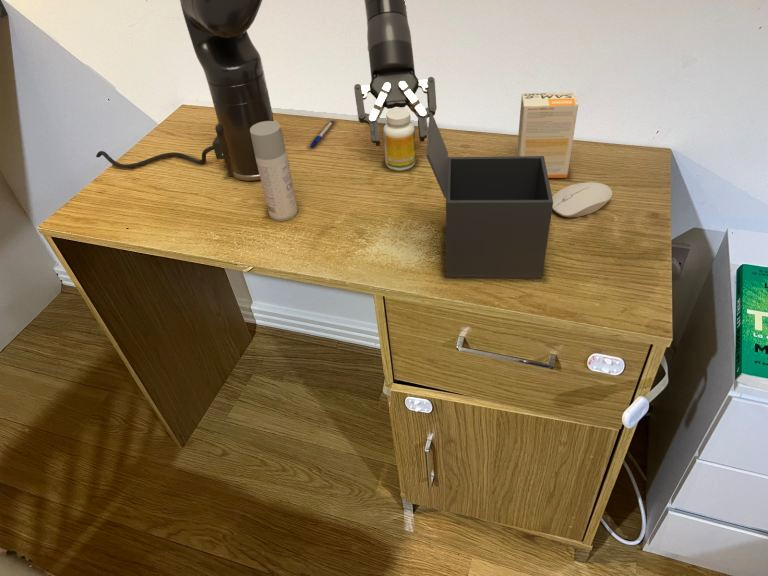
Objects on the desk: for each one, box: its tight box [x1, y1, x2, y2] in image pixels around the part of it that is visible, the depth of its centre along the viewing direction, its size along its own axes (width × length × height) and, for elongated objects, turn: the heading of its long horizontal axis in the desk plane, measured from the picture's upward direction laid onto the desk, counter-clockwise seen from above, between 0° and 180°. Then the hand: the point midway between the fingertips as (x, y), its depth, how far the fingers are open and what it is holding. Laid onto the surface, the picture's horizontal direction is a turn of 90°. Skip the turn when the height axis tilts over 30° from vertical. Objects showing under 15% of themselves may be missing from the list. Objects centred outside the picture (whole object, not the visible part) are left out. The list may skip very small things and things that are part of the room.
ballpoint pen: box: [310, 120, 334, 149], centre depth 115 cm, size 10×1×1 cm, turn 163°
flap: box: [425, 112, 449, 199], centre depth 75 cm, size 6×11×1 cm
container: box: [250, 120, 299, 222], centre depth 91 cm, size 5×5×15 cm
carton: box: [445, 155, 553, 280], centre depth 81 cm, size 13×11×12 cm
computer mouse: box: [552, 181, 613, 218], centre depth 91 cm, size 6×10×3 cm, turn 112°
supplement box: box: [516, 91, 579, 179], centre depth 96 cm, size 8×5×13 cm, turn 84°
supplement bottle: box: [382, 107, 416, 172], centre depth 102 cm, size 5×5×10 cm
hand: (400, 142), depth 100 cm, fingers open, 7 cm apart
